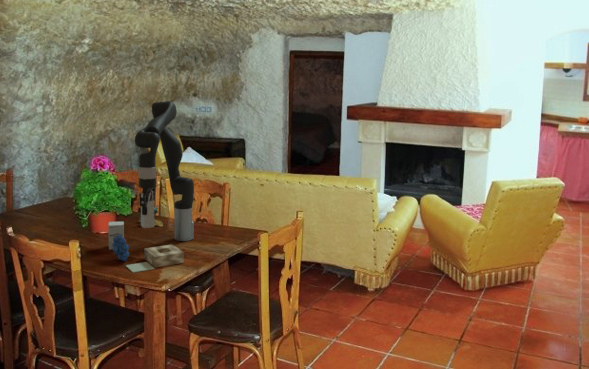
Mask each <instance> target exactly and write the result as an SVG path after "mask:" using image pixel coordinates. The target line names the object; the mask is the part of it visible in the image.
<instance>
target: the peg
mask: <svg viewBox="0 0 589 369" xmlns="http://www.w3.org/2000/svg"><path fill="white" fill-rule="evenodd" d="M143 204H144V203H143ZM154 206H155V201H153V200H149V202H148V205H147V215H142V207H141V206H140V218H141V223H140V227H142V228H143V229H149V228H154V227H155V226H154V219H155V218H154V217H155V215H154Z"/></svg>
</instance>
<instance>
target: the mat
mask: <svg viewBox="0 0 589 369" xmlns="http://www.w3.org/2000/svg"><path fill="white" fill-rule="evenodd" d="M125 267H126V268H127V269H128V270H129V271H130V272H131V273H133V274H134V273H140V272H146V271H150V270H152V271H153V270H156V267H154V266H153V265H152V264H150V263H149V262H148V261H144V262H143V261H142V262H138V263H131V264H126V265H125Z"/></svg>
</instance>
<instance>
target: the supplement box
mask: <svg viewBox="0 0 589 369" xmlns="http://www.w3.org/2000/svg"><path fill="white" fill-rule="evenodd" d="M124 225H125V222H124V221H108V225H107V226H108V228H107V229H108V231H107V232H108V250H110V251H111V250H113V246H112V244H113V242H114V241H113V238H114V237H115V236H116V237H117V235H121V236H122V238H124V239H125V231H124V230H125V226H124Z"/></svg>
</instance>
